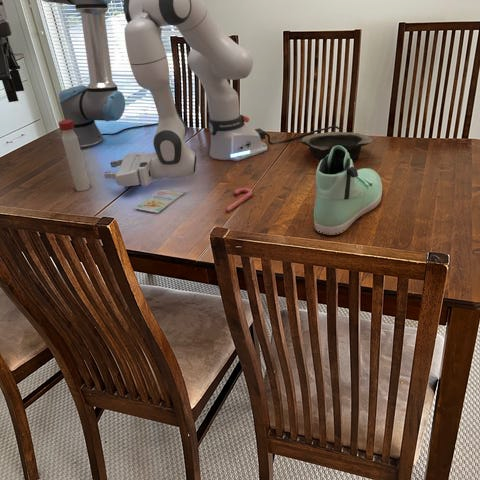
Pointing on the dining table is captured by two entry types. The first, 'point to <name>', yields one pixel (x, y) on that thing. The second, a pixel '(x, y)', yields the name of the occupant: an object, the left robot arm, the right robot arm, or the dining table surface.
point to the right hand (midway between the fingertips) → (108, 169)
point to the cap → (66, 125)
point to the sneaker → (343, 192)
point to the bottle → (75, 160)
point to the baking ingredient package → (159, 200)
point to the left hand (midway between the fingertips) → (16, 96)
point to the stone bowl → (336, 143)
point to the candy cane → (236, 192)
